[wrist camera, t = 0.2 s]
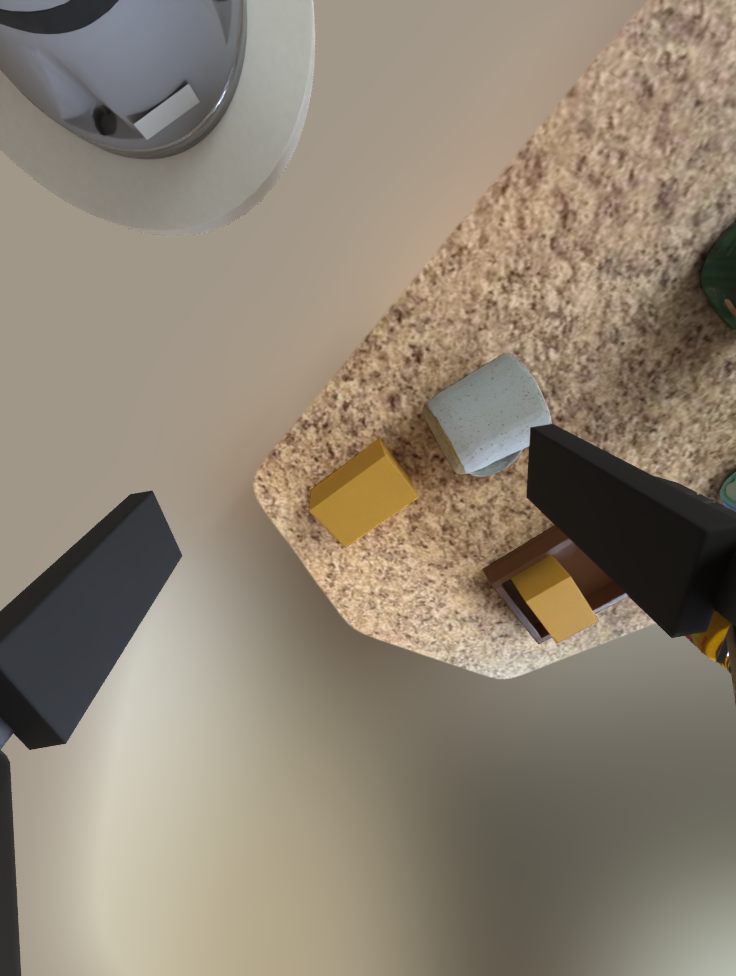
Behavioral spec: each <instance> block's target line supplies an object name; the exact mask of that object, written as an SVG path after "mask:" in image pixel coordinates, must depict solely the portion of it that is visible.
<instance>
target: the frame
mask: <svg viewBox="0 0 736 976" xmlns="http://www.w3.org/2000/svg"><path fill="white" fill-rule="evenodd" d="M550 555H552V556H553V557H554V558H555V559H556V560H557V561H558V562H559V564H560V565H561V566H562V567H563V568H564V569H565V570H566V571H567V573H568V574H569V575H570V576H571V578H572V579H573V581H574V582H575V584H576V585H577V587H578V589H579V590H580V592H581V593H582V595H583V597H584V598H585V600H586V601H587V603H588V604H589V606H590V608H591V609H592V611H593V612H594V614H596V613H598V612H600V611H602V610H604V609H605V608H607V607H609V606H611V605H613V604H615V603H617V602H618V601H620V600H622V599H624V598H626V597H628V595H627V594H626V593H625V592H624V591H623V590H622V589H621V588H620V587H619V586H618V585H617V584H616V583H615V582H614V581H612V580H611V579H610V578H609V577H608V576H607V575H606V574H605V573H604V572H603V571H602V570H601V569H600V568H599V567H598V566H597V565H596V564H595V563H594V562H593V561H592V560H591V559H590V558H589V557H588V556H587V555H586V554H585V553H584V552H583V551H582V550H580V549H579V548H578V547H577V546H576V545H575V544H574V543H573V542H572V541H571V540H570V539H569V538H568V537H567V536H566V535H565V534H564V533H563V532H562V531H561V530H560V529H559V528H558V527H557V526H556V525H555V526H553V527H552V528H550V529H548V530H547V531H545V532H543V533H542V534H540V535H539V536H537V537H535V538H534V539H532V540H530V541H529V542H527V543H525V544H524V545H522V546H520V547H519V548H517V549H515V550H514V551H512V552H511V553H509V554H507V555H506V556H504V557H502V558H501V559H499V560H497V561H496V562H494V563H492V564H491V565H489V566H487V567H486V568H484V569H483V571H484V573H485V575H486V576H487V578H488V580H489V582H490V583H491V585H492V586H493V588H494V589H495V590H496V591H497V593H498V594H499V595H500V596H501V598H502V599H503V600H504V601H505V603H506V604H507V605H508V606H509V608H510V609H511V610H512V612H513V613H514V614H515V615H516V617H517V618H518V619H519V620H520V622H521V623H522V624H523V625H524V627H525V628H526V629H527V631H528V632H529V633H530V634H531V636H532V637H533V638H534V639H535V641H536V642H537V643H538V644H540V643H542V642H544V641H546V640H548V639H550V638H552V636H551V635H550V634H549V632H548V631H547V630H546V628H545V627H544V626H543V624H542V623H541V622H540V620H539V619H538V618H537V616H536V615H535V614H534V612H533V611H532V610H531V608H530V607H529V606H528V604H527V603H526V602H525V600H524V599H523V597H522V596H521V594H520V593H519V591H518V589H517V588H516V586H515V585H514V583H513V582H512V580H511V578H513V577H514V576H516V575H518V574H520V573H521V572H523V571H525V570H526V569H528V568H530V567H531V566H533V565H535V564H536V563H538V562H540V561H542V560H543V559H545V558H547V557H548V556H550Z"/></svg>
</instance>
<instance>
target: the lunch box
mask: <svg viewBox="0 0 736 976" xmlns="http://www.w3.org/2000/svg"><path fill="white" fill-rule="evenodd" d="M720 497H721V500H722V502H723V504H724V506H725V507H727V508H729V509H731V510H733V511H735V512H736V472H735V473H733V474H732V475H731V476H730V477H729V478H728V479H727V480H726V481H725V483H724V484H723V486H722V488H721V490H720Z"/></svg>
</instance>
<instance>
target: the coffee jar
mask: <svg viewBox="0 0 736 976" xmlns="http://www.w3.org/2000/svg"><path fill="white" fill-rule="evenodd" d="M701 284H702V287H703V290H704V292H705V294H706V296H707V298H708V300H709V302H710V303H711V305H712V307H713V308H714V310H715V311H716V312H717V314H718V315H719V316H720V317H721V318H722V319H723V320H724V321H725V322H726V323H727V324H728V325H729V326H730V327H731V328H733V329H735V330H736V221H735V222H734V223H733V224H732V225H731V226H730V227H729V228H728V229H727V230H726V231H725V233H724V234H723V235H722V236H721V237H720V238H719V240H718V241H717V242H716V244H715V245H714V247H713V248H712V249H711V251H710V252H709V254H708V256H707V258H706V260H705V263H704V266H703V269H702V271H701Z"/></svg>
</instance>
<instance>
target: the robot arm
mask: <svg viewBox="0 0 736 976" xmlns="http://www.w3.org/2000/svg"><path fill="white" fill-rule="evenodd" d="M246 41H247V0H0V70H1V71H2V72H3V73H4V75H5V76H6V77H7V78H8V79H9V80H10V81H11V82H12V83H13V84H14V85H15V86H16V88H17V89H18V90H19V91H20V92H21V93H22V94H23V95H24V96H25V97H26V98H27V99H29V100H30V101H31V102H32V103H33V104H34V105H35V106H36V107H37V108H39V109H40V110H41V111H42V112H43V113H45V114H46V115H47V116H48V117H50V118H51V119H53V120H54V121H55V122H57V123H58V124H60V125H61V126H63V127H64V128H66V129H67V130H69V131H70V132H72V133H73V134H75V135H76V136H78V137H79V138H81V139H83V140H85V141H86V142H88V143H90V144H92V145H94V146H96V147H98V148H100V149H102V150H105V151H107V152H110V153H113V154H116V155H120V156H124V157H128V158H135V159H161V158H166V157H170V156H174V155H177V154H180V153H182V152H185V151H186V150H188V149H190V148H192V147H194V146H195V145H197V144H198V143H199V142H201V141H202V140H203V139H204V138H205V137H206V136H208V135H209V134H210V133H211V132H212V131H213V129H214V128H215V127H216V126H217V124H218V123H219V122H220V121H221V119H222V117H223V116H224V114H225V113H226V111H227V109H228V107H229V105H230V103H231V101H232V99H233V97H234V94H235V92H236V89H237V86H238V83H239V80H240V76H241V72H242V68H243V63H244V58H245V50H246ZM527 498H528V499H529V500H530V501H531V502H532V503H533V504H534V505H535V506H536V507H537V508H538V509H539V510H540V511H541V512H542V513H543V514H544V515H545V516H546V517H547V518H548V519H550V520H551V521H552V522H553V523H554V524H555V525H556V526H557V527H558V528H559V529H560V530H561V531H562V532H563V533H564V534H565V535H566V536H567V537H568V538H569V539H570V540H571V541H572V542H573V543H574V544H575V545H576V546H577V547H578V548H579V549H580V550H582V551H583V552H584V553H585V554H586V555H587V556H588V557H589V558H590V559H591V560H592V561H593V562H594V563H595V564H596V565H597V566H598V567H599V568H600V569H601V570H602V571H603V572H604V573H605V574H606V575H607V576H608V577H609V578H610V579H611V580H612V581H614V582H615V583H616V584H617V585H618V586H619V587H620V588H621V589H622V590H623V591H624V592H625V593H626V594H627V595H628V596H629V597H630V598H631V599H632V600H633V601H634V602H635V603H636V604H637V605H638V606H639V607H640V608H641V609H642V610H643V611H644V612H646V613H647V614H648V615H649V616H650V617H651V618H652V619H653V620H654V621H655V622H656V623H657V624H658V625H659V626H660V627H661V628H662V629H663V630H664V631H665V632H666V633H667V634H668V635H669V636H670V637H671V638H674V637H680V636H685V635H691V634H697V633H703V632H707V629H708V626H709V624H710V621H711V618H712V615H713V613H714V610H715V611H717V612H718V613H719V614H720V615H722V616H723V617H724V618H725V619H727V620H728V621H729V622H731V623H730V626H729V628H728V631H727V633H726V636H725V638H724V641H723V643H722V646H721V648H720V651H719V653H718V656H717V660H716V662H718V663H722V664H723V663H724V660H725V658H726V657H727V656H729V661H730V668H731V675H732V682H733V689H734V696H735V703H736V512H735V511H733V510H731V509H729V508H727V507H725V506H723V505H721V504H719V503H717V502H716V503H713V502H712V500H711V499H709V498H707V497H705V496H703V495H701V494H699V495H697V492H695V491H693V490H691V489H689V488H687V487H685V486H683V485H681V484H679V483H676V482H673V481H669V480H666V479H662V478H659V477H655V476H652V475H650V474H648V473H646V472H644V471H642V470H641V469H639V468H637V467H635V466H633V465H631V464H629V463H627V462H625V461H623V460H621V459H619V458H617V457H615V456H613V455H612V454H610V453H608V452H606V451H604V450H602V449H600V448H598V447H596V446H594V445H592V444H590V443H588V442H586V441H585V440H583V439H581V438H579V437H577V436H575V435H573V434H571V433H569V432H567V431H565V430H563V429H561V428H559V427H557V426H556V425H554V424H548V425H542V426H536V427H530V443H529V462H528V481H527ZM181 557H182V554H181V552H180V550H179V547H178V545H177V543H176V541H175V539H174V536H173V534H172V532H171V530H170V528H169V525H168V523H167V521H166V519H165V517H164V515H163V512H162V510H161V508H160V506H159V504H158V502H157V499H156V497H155V495H154V493H153V491H147V492H141V493H135V494H130V495H129V496H128V497H127V498H126V499H125V500H123V501H122V502H121V503H120V504H119V505H118V506H117V507H116V508H115V509H113V510H112V511H111V512H110V513H109V514H108V515H107V516H106V517H105V518H104V519H103V520H101V521H100V522H99V523H98V524H97V525H96V526H95V527H94V528H92V529H91V530H90V531H89V532H88V533H87V534H86V535H85V536H83V537H82V538H81V539H80V540H79V541H78V542H77V543H76V544H75V545H73V546H72V547H71V548H70V549H69V550H68V551H67V552H66V553H65V554H63V555H62V556H61V557H60V558H59V559H58V560H57V561H56V562H55V563H53V565H51V566H50V567H49V568H48V569H47V570H46V571H45V572H43V573H42V574H41V575H40V576H39V577H38V578H37V579H36V580H35V581H33V582H32V583H31V584H30V585H29V586H28V587H27V588H26V589H25V590H23V591H22V592H21V593H20V594H19V595H18V596H17V597H16V598H15V599H13V600H12V601H11V602H10V603H9V604H8V605H7V606H6V607H5V608H3V609H2V610H1V611H0V976H21V965H20V945H19V926H18V907H17V888H16V869H15V850H14V831H13V811H12V794H11V793H12V792H11V775H10V774H11V773H10V761H9V760H8V758H7V756H6V755H5V754H4V753H3V752H2V751H1V748H2V747H3V746H4V745H5V743H6V742H7V741H8V739H9V738H10V737H11V735H12V734H13V733H14V734H15V735H16V736H17V737H18V738H19V739H20V740H21V741H22V742H23V743H24V744H25V746H26V747H27V748H29V750H31V749H37V748H43V747H49V746H55V745H60V744H66V742H67V741H68V739H69V738H70V736H71V734H72V733H73V731H74V729H75V728H76V726H77V725H78V723H79V721H80V720H81V718H82V717H83V715H84V713H85V712H86V710H87V709H88V707H89V705H90V704H91V702H92V700H93V699H94V697H95V696H96V694H97V692H98V691H99V689H100V687H101V686H102V684H103V683H104V681H105V679H106V678H107V676H108V675H109V673H110V671H111V670H112V668H113V667H114V665H115V663H116V662H117V660H118V659H119V657H120V655H121V654H122V652H123V650H124V649H125V647H126V646H127V644H128V642H129V641H130V639H131V638H132V636H133V634H134V633H135V631H136V630H137V628H138V626H139V624H140V623H141V621H142V620H143V618H144V617H145V615H146V613H147V612H148V610H149V608H150V607H151V605H152V603H153V602H154V600H155V599H156V597H157V596H158V594H159V592H160V591H161V589H162V588H163V586H164V584H165V583H166V581H167V580H168V578H169V576H170V575H171V573H172V571H173V570H174V568H175V566H176V565H177V563H178V562H179V560H180V559H181Z"/></svg>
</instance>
